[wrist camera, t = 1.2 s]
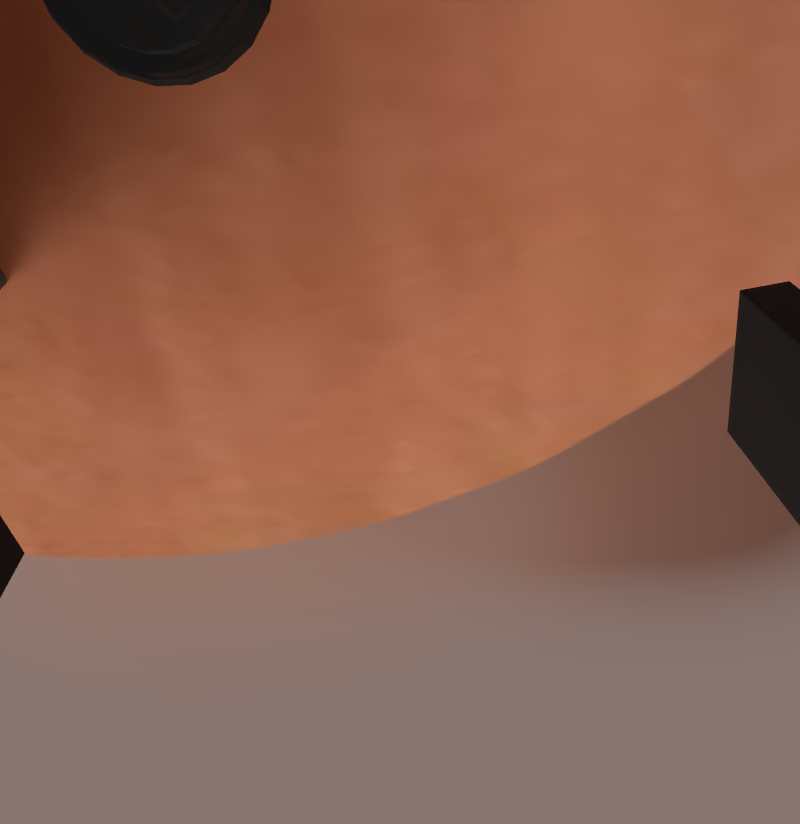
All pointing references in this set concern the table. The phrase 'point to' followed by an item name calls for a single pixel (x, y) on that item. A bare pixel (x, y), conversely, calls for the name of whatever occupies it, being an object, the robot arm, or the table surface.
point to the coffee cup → (162, 35)
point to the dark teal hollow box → (2, 280)
